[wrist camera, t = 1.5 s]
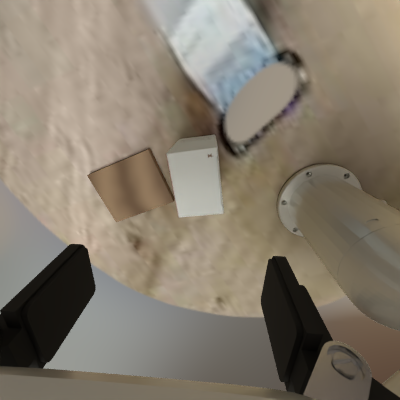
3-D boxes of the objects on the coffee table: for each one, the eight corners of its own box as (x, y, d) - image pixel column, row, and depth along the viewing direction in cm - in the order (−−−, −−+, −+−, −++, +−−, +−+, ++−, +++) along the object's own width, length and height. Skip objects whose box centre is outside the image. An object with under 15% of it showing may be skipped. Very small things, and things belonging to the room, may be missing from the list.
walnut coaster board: (150, 148, 33) (148, 149, 32) (174, 199, 36) (173, 201, 35) (90, 173, 35) (87, 175, 34) (118, 219, 38) (116, 222, 37)
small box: (178, 138, 32) (164, 151, 22) (216, 133, 31) (217, 145, 22) (186, 188, 35) (177, 219, 25) (220, 185, 34) (224, 214, 25)
